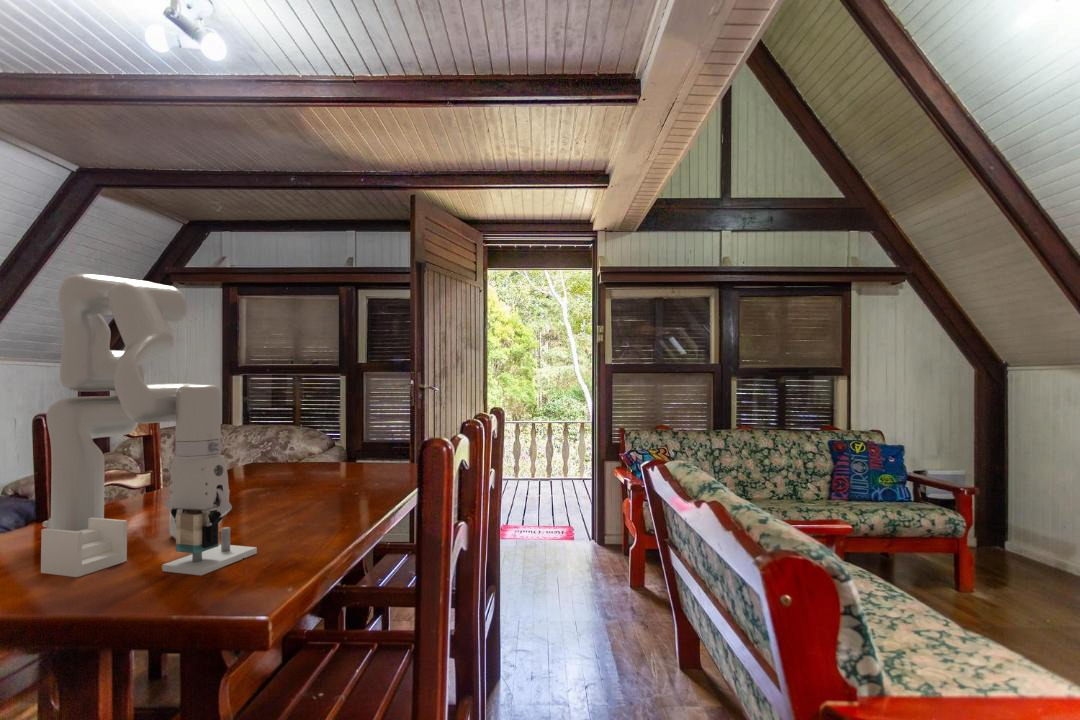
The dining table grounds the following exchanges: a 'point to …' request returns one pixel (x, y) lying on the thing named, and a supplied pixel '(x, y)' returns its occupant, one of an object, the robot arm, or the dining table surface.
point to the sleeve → (191, 532)
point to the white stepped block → (84, 548)
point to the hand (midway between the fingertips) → (197, 543)
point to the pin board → (210, 557)
